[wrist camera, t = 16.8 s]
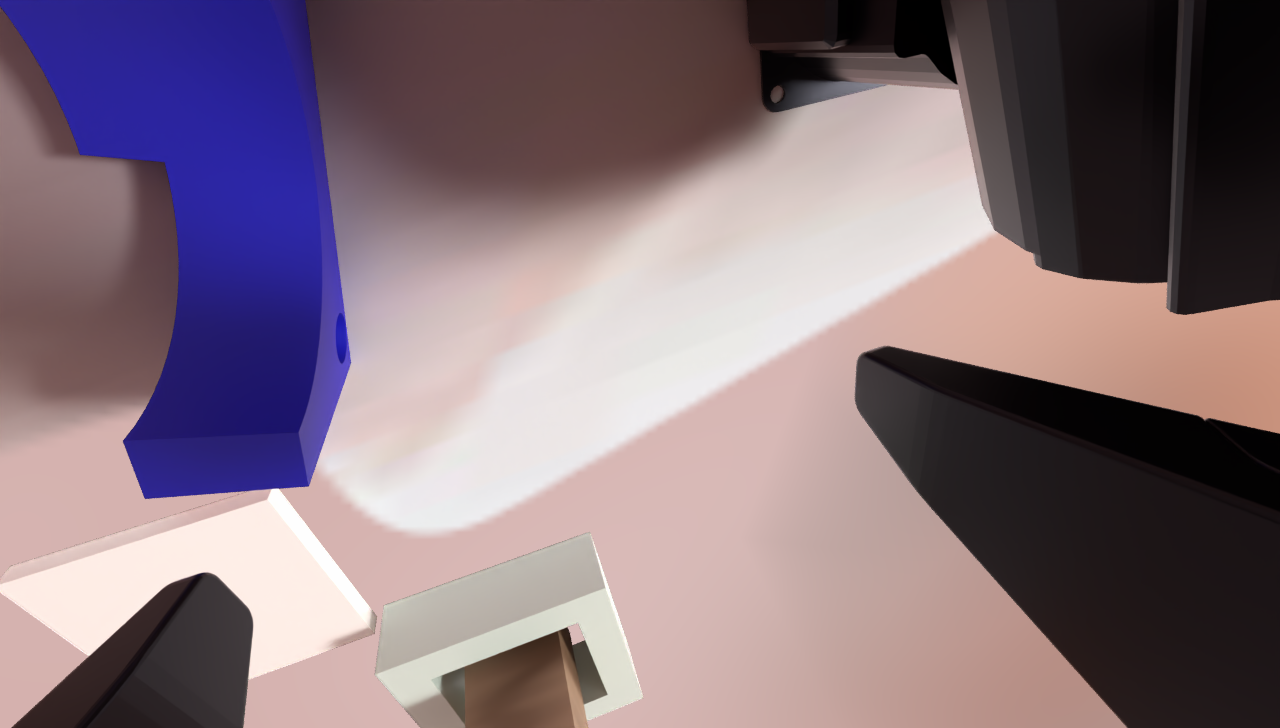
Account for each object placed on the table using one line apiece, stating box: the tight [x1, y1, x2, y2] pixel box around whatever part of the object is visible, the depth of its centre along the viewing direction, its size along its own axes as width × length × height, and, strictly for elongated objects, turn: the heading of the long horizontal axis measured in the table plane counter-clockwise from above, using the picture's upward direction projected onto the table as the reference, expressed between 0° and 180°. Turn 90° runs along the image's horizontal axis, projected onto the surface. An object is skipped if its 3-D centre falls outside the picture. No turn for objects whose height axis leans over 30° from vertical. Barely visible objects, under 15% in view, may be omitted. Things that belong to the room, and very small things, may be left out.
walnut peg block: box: [465, 627, 588, 728], centre depth 23 cm, size 4×4×7 cm
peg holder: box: [375, 532, 643, 728], centre depth 24 cm, size 9×9×3 cm
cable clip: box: [0, 0, 351, 499], centre depth 11 cm, size 12×4×6 cm, turn 172°
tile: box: [0, 489, 377, 680], centre depth 19 cm, size 8×8×1 cm
